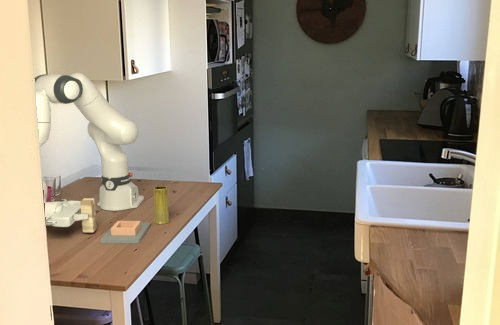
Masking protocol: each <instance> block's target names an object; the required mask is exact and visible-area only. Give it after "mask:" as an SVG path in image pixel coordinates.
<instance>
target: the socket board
mask: <svg viewBox="0 0 500 325" xmlns="http://www.w3.org/2000/svg"><path fill="white" fill-rule="evenodd" d="M151 225H152V222H142V221H141V220H117V221H116V222H115V223H114V224H112V226H111V227H110V228H109V230H107V232H106V233H105V234H104V235H103V236H102V238H100V239H99V243H100V244H140V243H141V240H142V239H143V237H144V236H145V235H146V234H147V232H148V231H149V229H150V228H151Z"/></svg>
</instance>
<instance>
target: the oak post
mask: <svg viewBox="0 0 500 325" xmlns="http://www.w3.org/2000/svg"><path fill="white" fill-rule="evenodd" d="M95 199H96V198H93V197H92V198H85V197H84V198H82V199H81V200H79V201H80V204H81V214H84V213H86V214H87V213H88V214H89V218H88V219H82V220H81V226H82V233H94V232H95V231H96V230H97V229H98V226H97V215H96V203H95V202H96V200H95Z"/></svg>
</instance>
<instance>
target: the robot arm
mask: <svg viewBox="0 0 500 325" xmlns="http://www.w3.org/2000/svg"><path fill="white" fill-rule="evenodd" d="M33 79H35V92H36V106H37V118H38V129H39V143H40V148H42V146H43V145H44V144H45V143H46V142H47V141H48V140H49V137H50V133H51V126H52V125H51V124H52V123H51V122H52V109H53V107H54V105H55V104H62V105H63V104H64V105H67V104H72V103H73V104H74V105H75V107H76V108H77V109H78V110H79V112H80V113H81V114H82V115H83V117H84V118H85V119H86V120H87V121H89V122H88V124H87V133H88V136H89V137H90V138H91V139H92V140H93V142H94V143H95V146H96V148H97V150H98V154H99V158H100V165H101V177H100V178H101V186H100V187H99V201H98V202H97V204H96V205H97V206H98V207H100V209H102V210H104V211H125V210H129V209H135V208H139V206H141V204H142V202H143V201H144V199H145V196H143V195H140V194H139V187H138V186H137V185H136V184H134V183H133V182H132V179H131V178H133V172H129V158H128V156H127V154H126V153H125V152H124V150H123V149H122V147H121V146H124V145H126V146H127V145H132V144H134V143H135V142H136V141H137V139H138V136H139V128H138V125H137V124H136V123H135V122H134V121H132V120H130V119H129V118H127V117H125V116H124V115H123V114H122V113H121V112H119V110H117V109H116V108H115V107H114V106H112V105H111V103H109V102H108V100H107V99H106V98H105V96H104V95H103V93H102V92H101V91H100V90H99V88H98V87H97V86H96V84H94V82H92V80H91V79H90V78H88V77H87V76H86V75H85V74H84V73H81V72H74V73H71V74H69V75H67V74H66V75H65V74H59V73H57V74H56V73H51V74H50V73H49V74H45V73H43V74H39V75H37V76H35V77H34V78H33ZM41 179H42V180H43V190H44V203H45V217H46V225H45V226H52V227H56V228H57V227H58V228H69V227H71V226H72V225H73V224H74V223H75V222H76V221H77V222H78V221H82V219H88V218H89V214H88V213H87V214H86V213H84V214H81V204H80V201H81V200H67V199H66V198H64V199H60V200H57V201H47V200H48V193H49V187H48V184H47V182H46V181H45V180H44V179H43V178H41Z"/></svg>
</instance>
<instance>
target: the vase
mask: <svg viewBox="0 0 500 325" xmlns="http://www.w3.org/2000/svg"><path fill="white" fill-rule="evenodd" d="M168 199H169V197H168V186H166V185H157V186H154V187H153V203H154V204H153V207H154V208H153V211H154V212H153V213H154V221H153V222H154V224H156V225H166V224H169V223H170V221H171V220H170V214H169V213H170V212H169V200H168Z"/></svg>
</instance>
